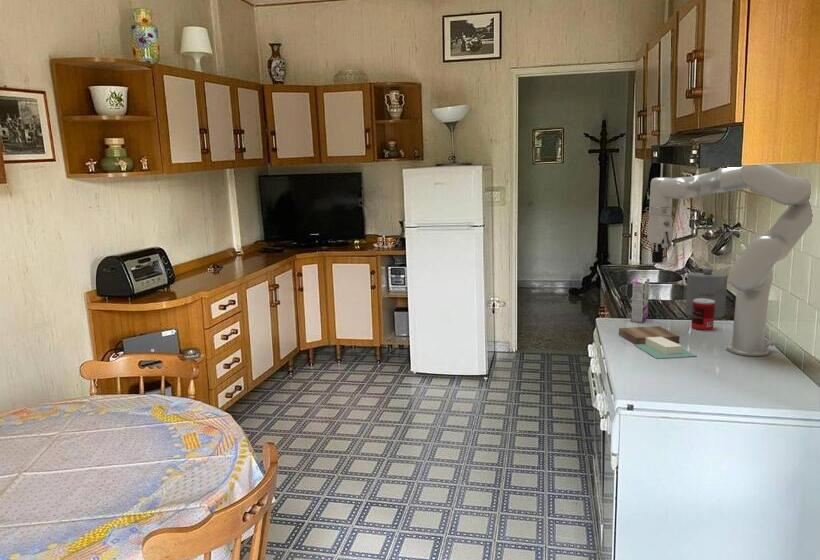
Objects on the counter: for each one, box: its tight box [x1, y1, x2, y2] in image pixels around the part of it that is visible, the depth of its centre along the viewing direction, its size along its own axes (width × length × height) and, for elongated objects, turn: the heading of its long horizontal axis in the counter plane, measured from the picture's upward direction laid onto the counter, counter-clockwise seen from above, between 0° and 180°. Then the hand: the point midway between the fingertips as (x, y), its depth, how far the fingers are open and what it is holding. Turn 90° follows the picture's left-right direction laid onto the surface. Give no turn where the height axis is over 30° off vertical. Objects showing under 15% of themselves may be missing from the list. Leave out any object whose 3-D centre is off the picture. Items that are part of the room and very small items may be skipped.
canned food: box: [691, 298, 715, 331], centre depth 243 cm, size 8×8×11 cm
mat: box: [633, 343, 697, 360], centre depth 216 cm, size 14×16×1 cm
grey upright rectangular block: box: [684, 267, 729, 319], centre depth 261 cm, size 15×6×20 cm, turn 70°
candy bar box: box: [630, 277, 650, 324], centre depth 257 cm, size 11×5×16 cm, turn 150°
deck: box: [618, 325, 681, 345], centre depth 230 cm, size 16×14×2 cm
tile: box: [645, 337, 683, 354], centre depth 217 cm, size 6×12×2 cm, turn 12°
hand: (657, 262), depth 232 cm, fingers closed
